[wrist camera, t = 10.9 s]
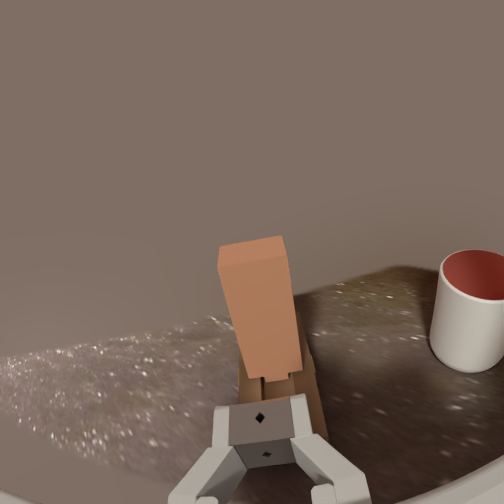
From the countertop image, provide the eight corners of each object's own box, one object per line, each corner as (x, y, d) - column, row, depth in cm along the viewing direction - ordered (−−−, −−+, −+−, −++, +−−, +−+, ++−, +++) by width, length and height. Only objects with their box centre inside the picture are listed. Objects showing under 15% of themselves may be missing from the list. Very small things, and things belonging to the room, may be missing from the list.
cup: (414, 331, 35) (422, 258, 30) (476, 311, 34) (489, 242, 30) (451, 390, 26) (475, 314, 21) (517, 359, 25) (544, 285, 21)
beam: (304, 335, 38) (300, 310, 37) (330, 456, 23) (330, 435, 21) (244, 345, 39) (238, 321, 37) (246, 468, 24) (236, 449, 22)
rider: (298, 353, 32) (281, 235, 26) (303, 378, 29) (286, 254, 23) (250, 361, 32) (220, 246, 26) (251, 386, 29) (217, 266, 23)
